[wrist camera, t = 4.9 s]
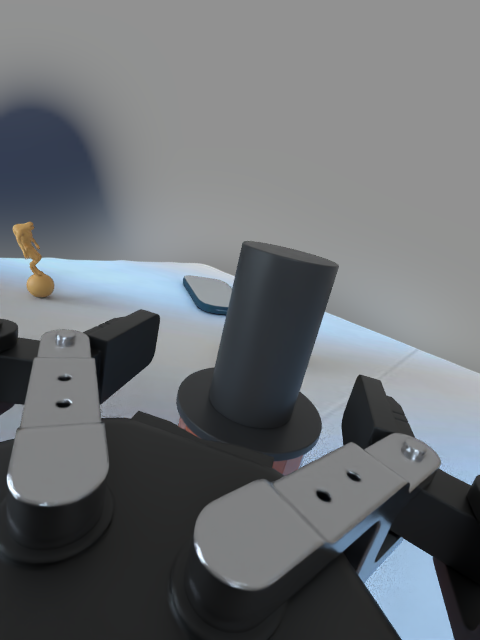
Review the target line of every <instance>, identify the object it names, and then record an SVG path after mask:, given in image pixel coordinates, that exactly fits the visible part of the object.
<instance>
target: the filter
mask: <svg viewBox="0 0 480 640" xmlns="http://www.w3.org/2000/svg"><path fill="white" fill-rule="evenodd" d="M338 268H339V266H338V265H337V264H336V263H335V262H332V261H330V260H328V259H325V258H322V257H319V256H316V255H312V254H308V253H305V252H301V251H298V250H294V249H290V248H286V247H281V246H277V245H272V244H267V243H261V242H253V241H245V242H243V243H242V248H241V253H240V257H239V262H238V266H237V270H236V275H235V279H234V284H233V288H232V293H231V297H230V302H229V306H228V310H227V315H226V319H225V324H224V328H223V333H222V337H221V342H220V346H219V351H218V355H217V360H216V364H215V367H214V368H208V369H204V370H200V371H197V372H195V373H193V374H191V375H189V376H188V377H187V378H186V379H185V380H184V381H183V382H182V383H181V385H180V387H179V390H178V394H177V402H176V404H177V409H178V412H179V415H180V417H181V418H182V420H183V422H184V423H185V424H186V426H187V427H188V428H189V429H190V430H191V431H192V432H193V433H194V434H195V435H197V436H198V437H199V438H201V439H204V440H209V441H216V442H222V443H228V444H234V445H240V446H243V447H246V448H249V449H252V450H254V451H257V452H260V453H263V454H266V455H269V456H272V457H274V461H284V460H290V459H294V458H297V457H300V456H302V455H304V454H306V453H307V452H309V451H310V450H311V449H312V448H313V447H314V446H315V445H316V443H317V441H318V439H319V436H320V433H321V429H322V423H321V418H320V415H319V413H318V411H317V409H316V408H315V406H314V405H313V404H312V403H311V401H310V400H309V399H308V398H307V397H306V396H304V395H303V394H302V393H301V392H299V391H300V388H301V385H302V382H303V379H304V375H305V372H306V369H307V366H308V363H309V360H310V356H311V353H312V350H313V347H314V344H315V341H316V337H317V334H318V331H319V328H320V325H321V322H322V318H323V315H324V312H325V309H326V305H327V303H328V299H329V296H330V293H331V290H332V287H333V284H334V280H335V277H336V274H337V271H338Z"/></svg>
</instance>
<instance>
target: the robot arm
mask: <svg viewBox="0 0 480 640" xmlns="http://www.w3.org/2000/svg"><path fill="white" fill-rule="evenodd" d="M159 324H160V316H159V315H158V314H155V313H152V312H148V311H145V310H142V309H141V310H138V311H136V312H134V313H132V314H130V315H128V316H126V317H120V318H113V319H111V320H109V321H107V322H105V323H103V324H100V325H98V326H96V327H94V328H92V329H90V330H87V331H85V332H83V333H82V332H79V331H74V330H53V331H49V332H46V333H45V334H43V335H42V336H41V340H40V341H39V340H32V339H25V338H18V325H17V324H16V323H14V322H12V321H9V320H5V319H0V415H1V414H3V413H4V412H6V411H7V410H9V409H10V408H12V407H13V406H14V405H15V404H22V405H24V409H23V414H22V419H21V424H20V428H18V429H17V431H16V435H15V439H11V440H7V441H3V442H0V640H402V639H401V638H400V636H399V635H398V633H397V632H396V630H395V629H394V627H393V626H392V624H391V623H390V622H389V620H388V619H387V617H386V616H385V614H384V613H383V611H382V610H381V608H380V607H379V605H378V604H377V602H376V601H375V599H374V598H373V596H372V595H371V593H370V592H369V590H368V589H367V587H366V586H365V584H364V583H365V582H366V581H367V579H368V578H369V577H370V576H371V574H372V573H373V572H374V571H375V570H376V569H377V568H378V567H379V566H380V565H381V564H382V563H383V562H384V561H385V559H386V558H387V557H388V556H389V555H390V554H391V553H392V552H393V551H394V550H395V549H396V548H397V547H398V546H399V545H400V543H401V542H402V541H403V539H405V540H407V541H409V542H410V543H412V544H413V545H415V546H417V547H418V548H420V549H422V550H423V551H425V552H426V553H428V554H430V555H431V556H433V562H434V566H435V570H436V574H437V577H438V581H439V585H440V588H441V592H442V595H443V599H444V603H445V606H446V610H447V614H448V617H449V621H450V625H451V628H452V632H453V636H454V639H455V640H480V475H478V476H477V477H476V478H475V480H474V482H473V484H472V485H469V484H467V483H465V482H463V481H461V480H459V479H457V478H455V477H453V476H451V475H449V474H447V473H445V472H444V471H442V470H440V469H439V467H440V465H441V460H440V458H439V456H438V455H437V453H436V452H435V451H434V450H433V449H432V448H431V447H429V446H428V445H427V444H425V443H424V442H422V441H420V440H418V439H416V438H415V436H414V434H413V432H412V430H411V428H410V425H409V423H408V421H407V419H406V416H405V414H404V412H403V410H402V407H401V406H400V405H399V404H398V403H397V402H396V401H395V400H394V399H393V398H392V397H389V396H386V394H385V391H384V388H383V386H382V383H381V381H380V380H377V379H374V378H370V377H367V376H363V375H359V376H358V377H357V379H356V381H355V384H354V387H353V389H352V392H351V395H350V398H349V400H348V403H347V406H346V408H345V411H344V414H343V419H342V436H343V445H344V446H342V447H340V448H338V449H336V450H334V451H332V452H330V453H328V454H326V455H325V456H323V457H321V458H319V459H317V460H315V461H313V462H311V463H309V464H307V465H305V466H303V467H301V468H299V469H297V470H295V471H294V472H292V473H290V474H288V475H286V476H284V475H283V474H281V473H280V472H278V471H277V470H275V469H273V468H272V467H273V462H274V457H272V456H269V455H266V454H263V453H260V452H257V451H254V450H252V449H249V448H246V447H243V446H240V445H234V444H228V443H222V442H216V441H209V440H204V439H201V438H198V437H197V436H195V435H193V434H191V433H190V432H188V431H186V430H184V429H182V428H181V427H179V426H177V425H175V424H174V423H172V422H170V421H167V420H164V419H161V418H158V417H155V416H152V415H149V414H146V413H144V412H141V411H138V412H137V413H136V414H135V415H134V416H133V417H132V418H131V419H128V418H101V412H100V405H101V404H102V403H103V402H104V401H105V400H107V399H108V398H109V397H110V396H111V395H113V394H114V393H115V392H116V391H118V390H119V389H120V388H121V387H122V386H124V385H125V384H126V383H127V382H128V381H130V380H131V379H132V378H133V377H135V376H136V375H137V374H138V373H139V372H141V371H142V370H143V369H144V368H145V367H147V366H148V365H149V364H150V362H151V361H152V359H153V356H154V353H155V349H156V342H157V336H158V330H159Z"/></svg>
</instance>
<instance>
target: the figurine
mask: <svg viewBox="0 0 480 640" xmlns="http://www.w3.org/2000/svg"><path fill="white" fill-rule="evenodd" d="M32 226H33V223H32V222H27V223H25V224H16V225H14V226H13V232H14V234H15V236H16V240H17V242H18V243H19V246H20V248H21V249H22V251H23V254H24V257H25V259H26V258H27V257H28V258H29V257H30V258H31V259H33V261H32V262H30V269H31V270H32V272H33V273H34V275H32V276H31V277H29V279H28V280H27V289H28V291H29V292H30V293H31V294H32V295H33V296H36V297H40V298H42V297H47V296H49V295H50V294H51V293H52V292H53V290H54V282H53V280H52V279H51V277H49V276H48V275H46V274H44V273H43V272H42V271H39V270H38V269H37V267H36V266H35V265H36V264H37V263H38V262H39V261H40V260H41V258H42V257H41V255H40V254H39V253H38V252H37V250H35V249H34V247H33V246H32V244H31V241H32V242H33V243H34V244H35V245H36V247H38V249H40V248H39V245H38V244H37V243H36V242H35V240H34V239H33V238H32V232H31V230H32V229H34V227H32ZM28 258H27V259H28ZM30 258H29V259H30Z"/></svg>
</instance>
